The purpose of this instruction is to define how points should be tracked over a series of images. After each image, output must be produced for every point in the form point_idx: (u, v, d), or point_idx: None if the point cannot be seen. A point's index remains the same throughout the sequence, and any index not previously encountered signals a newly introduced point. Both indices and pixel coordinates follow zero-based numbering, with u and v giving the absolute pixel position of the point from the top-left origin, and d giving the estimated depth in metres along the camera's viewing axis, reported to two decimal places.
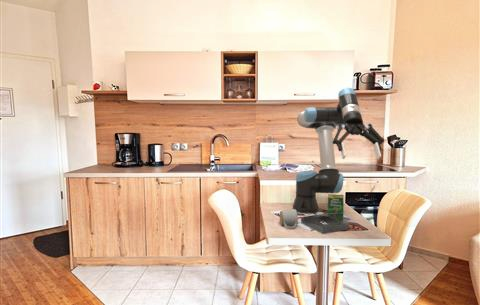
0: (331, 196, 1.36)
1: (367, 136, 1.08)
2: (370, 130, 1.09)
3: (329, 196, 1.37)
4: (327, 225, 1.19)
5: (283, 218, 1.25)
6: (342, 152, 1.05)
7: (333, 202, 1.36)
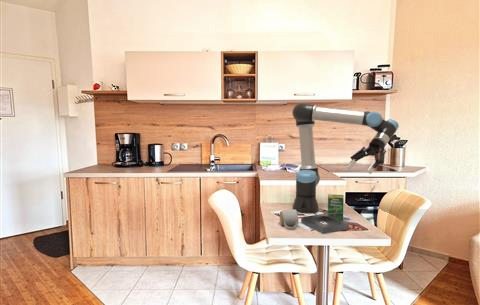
0: (331, 196, 1.36)
1: (362, 156, 1.45)
2: (362, 152, 1.48)
3: (329, 196, 1.37)
4: (327, 225, 1.19)
5: (283, 218, 1.24)
6: (372, 169, 1.33)
7: (333, 202, 1.36)
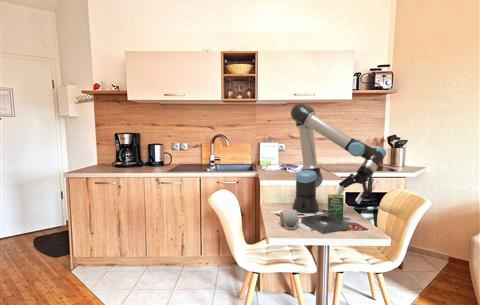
0: (331, 196, 1.36)
1: (350, 183, 1.45)
2: (350, 179, 1.47)
3: (329, 196, 1.37)
4: (327, 225, 1.19)
5: (283, 219, 1.24)
6: (360, 199, 1.32)
7: (333, 202, 1.36)
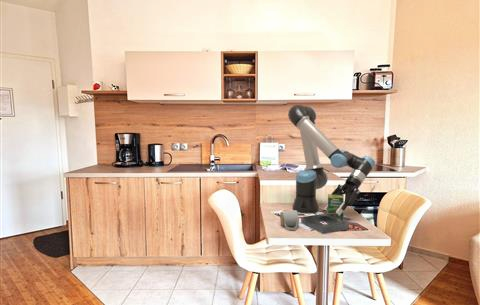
0: (331, 196, 1.36)
1: None
2: (339, 190, 1.45)
3: (329, 196, 1.37)
4: (327, 225, 1.19)
5: (284, 219, 1.23)
6: (340, 211, 1.33)
7: (333, 202, 1.36)
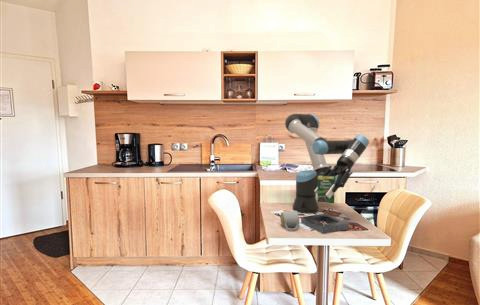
0: (321, 177, 1.25)
1: None
2: None
3: (319, 177, 1.25)
4: (327, 225, 1.19)
5: (284, 220, 1.22)
6: (331, 193, 1.21)
7: (323, 184, 1.24)
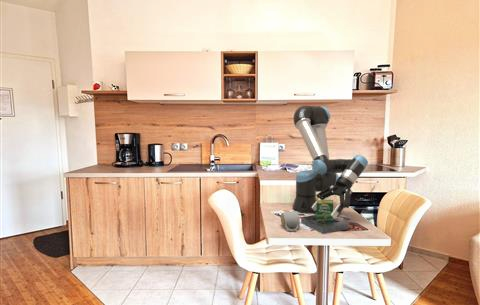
0: (320, 201, 1.26)
1: (328, 195, 1.32)
2: (329, 190, 1.35)
3: (318, 201, 1.26)
4: (327, 225, 1.19)
5: (284, 220, 1.22)
6: (336, 213, 1.20)
7: (322, 208, 1.25)
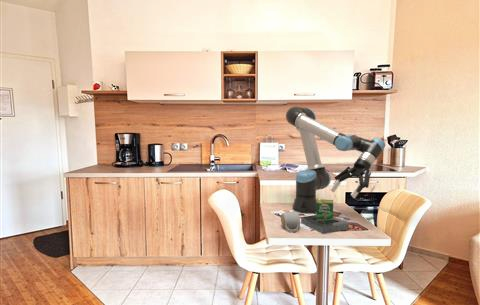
0: (320, 201, 1.26)
1: (346, 177, 1.36)
2: (347, 172, 1.38)
3: (318, 201, 1.26)
4: (327, 225, 1.19)
5: (285, 221, 1.21)
6: (355, 193, 1.23)
7: (322, 208, 1.25)
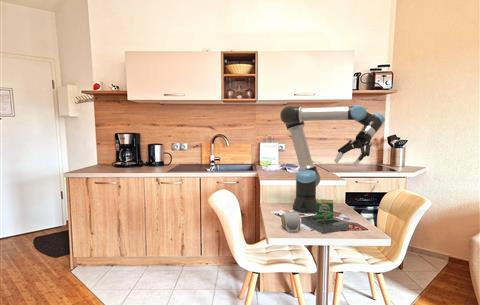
0: (320, 201, 1.26)
1: (348, 149, 1.47)
2: (349, 145, 1.49)
3: (318, 201, 1.26)
4: (327, 225, 1.19)
5: (285, 221, 1.20)
6: (357, 161, 1.34)
7: (322, 208, 1.25)
